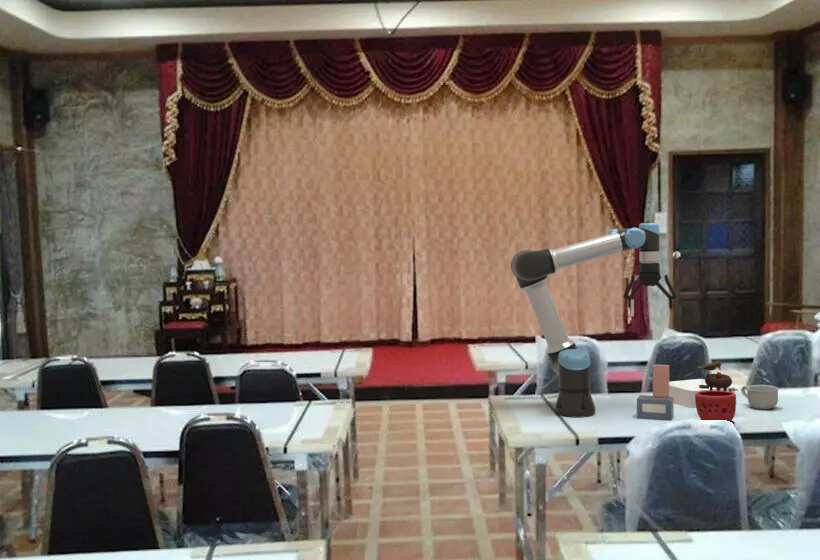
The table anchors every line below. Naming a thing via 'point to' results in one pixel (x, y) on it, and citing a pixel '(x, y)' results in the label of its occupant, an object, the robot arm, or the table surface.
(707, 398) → the plant pot
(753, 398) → the teacup
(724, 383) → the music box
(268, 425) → the table surface
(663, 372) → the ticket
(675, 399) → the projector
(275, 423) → the table surface
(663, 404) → the block
